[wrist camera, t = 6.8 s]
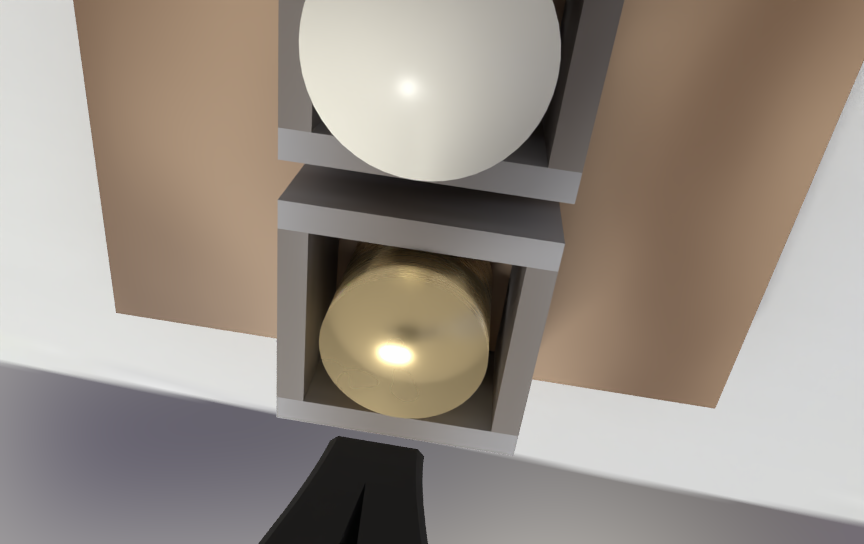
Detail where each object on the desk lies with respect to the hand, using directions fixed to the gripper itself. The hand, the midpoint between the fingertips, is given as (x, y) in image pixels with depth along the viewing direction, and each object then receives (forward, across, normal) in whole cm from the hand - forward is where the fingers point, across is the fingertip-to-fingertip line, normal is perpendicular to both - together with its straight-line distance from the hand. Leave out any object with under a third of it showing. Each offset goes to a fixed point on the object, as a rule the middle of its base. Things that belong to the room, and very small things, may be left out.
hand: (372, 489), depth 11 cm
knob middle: (+5, 0, -6) cm, 8 cm away
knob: (+6, 0, 0) cm, 6 cm away
